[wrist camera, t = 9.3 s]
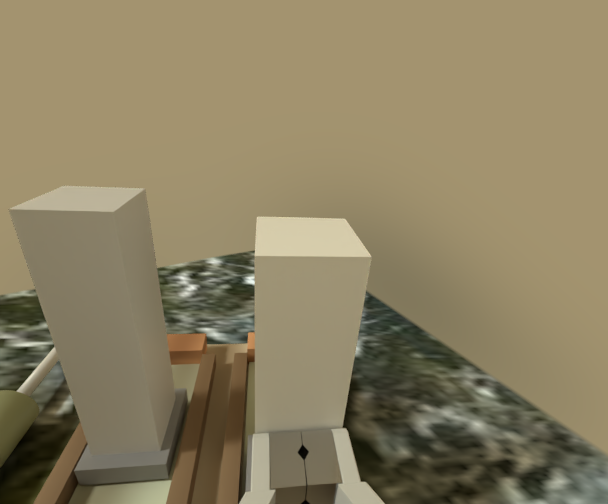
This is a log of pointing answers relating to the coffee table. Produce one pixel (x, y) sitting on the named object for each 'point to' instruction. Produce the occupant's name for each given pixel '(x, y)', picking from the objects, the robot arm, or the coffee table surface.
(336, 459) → the robot arm
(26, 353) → the coffee table surface
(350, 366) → the beige rectangular pillar
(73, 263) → the pillar on grey base
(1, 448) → the screwdriver
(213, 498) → the wooden double track board
